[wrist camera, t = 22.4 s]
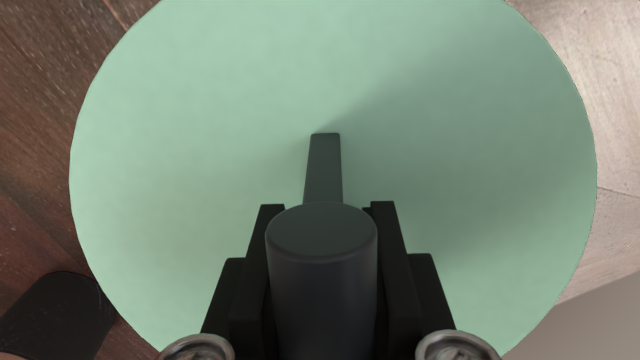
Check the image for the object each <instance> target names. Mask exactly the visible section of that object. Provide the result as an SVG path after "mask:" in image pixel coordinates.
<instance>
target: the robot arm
mask: <svg viewBox="0 0 640 360" xmlns="http://www.w3.org/2000/svg"><path fill="white" fill-rule="evenodd" d="M284 210H286V209H285V205H284V204H261V206H260V209H259V212H258V216H257V219H256V223H255V226H254V229H253V233H252V236H251V240H250V243H249V246H248V250H247V253H246V257H234V258H227V259H226V261H225V263H224V266H223V269H222V272H221V275H220V277H219V280H218V283H217V286H216V289H215V291H214V294H213V297H212V300H211V303H210V305H209V308H208V311H207V314H206V317H205V319H204V322H203V325H202V328H201V331H200V333H199V334H192V335H189V336H186V337H183V338H180V339H178V340H176V341H175V342H173V343H171V344H169V345H168V346H167V347H166V348H164V349H163V350H162V351H161V352H160V353H159V354H158V355H157V357H156V358H155V360H279V355H278V346H277V337H276V329H275V322H274V313H273V304H272V296H271V287H270V278H269V269H268V260H267V252H266V243H265V232H266V229H267V226H268V224H269V223H270V221H271V220H272V219H273V218H274V217H275V216H276V215H278V214H279V213H281V212H283V211H284ZM362 210H363V211H364V212H366V213H367V214H368V215H370V217H371V218H372V219H373V221H374V222H375V225H376V227H377V312H376V322H375V360H502V359H501V357H500V356H499V354H498V353H497V351H496V350H495V349H494V348H493V347H492V346H491V345H490V344H489V343H488V342H486V341H485V340H483V339H482V338H480V337H478V336H476V335H474V334H471V333H468V332H465V331H461V330H457V329H456V326H455V323H454V320H453V317H452V314H451V311H450V308H449V305H448V302H447V299H446V296H445V293H444V290H443V287H442V284H441V281H440V279H439V276H438V273H437V270H436V267H435V264H434V261H433V258H432V256H431V254H430V253H411V254H407V251H406V247H405V243H404V239H403V235H402V232H401V228H400V224H399V220H398V216H397V212H396V208H395V204H394V201H371V202H370V207H362Z"/></svg>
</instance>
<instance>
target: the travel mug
mask: <svg viewBox="0 0 640 360" xmlns="http://www.w3.org/2000/svg"><path fill="white" fill-rule="evenodd" d="M114 317H115V307H114V305H113V304H112V303H111V301H110V300H109V299H108V297H107V296H106V294H105V293H104V292H103V290H102V288H101V286H100V285H99V284H98V283H96V282H95V281H93V280H91V279H89V278H87V277H85V276H82V275H79V274H75V273H70V272H56V273H51V274H48V275H45V276H44V277H42V278H40V279H39V280H37V281H36V282H35V283H34V284H33V285H32V286H31V287H30V288H29V289H28V290H27V291H26V292H25V293H24V294H23V295H22V296H21V297H20V298H19V299H18V300H17V301H16V302H15V303H14V304H13V305H12V306H11V307H10V308H9V309H8V310H7V311H6V312H5V313H4V314H3V315H2V316H1V317H0V360H93V359H94V357H95V355H96V353H97V352H98V350H99V348H100V346H101V344H102V343H103V341H104V339H105V337H106V335H107V333H108V331H109V329H110V327H111V325H112V323H113V321H114Z"/></svg>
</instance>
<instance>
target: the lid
mask: <svg viewBox="0 0 640 360" xmlns="http://www.w3.org/2000/svg"><path fill="white" fill-rule="evenodd" d="M69 188H70V198H71V208H72V214H73V218H74V222H75V226H76V231H77V235H78V239H79V242H80V244H81V247H82V249H83V252H84V254H85V257H86V259H87V262H88V264H89V267H90V269H91V270H92V272H93V274H94V276H95V278H96V279H97V281H98V283H99V285H100V286H101V288H102V290H103V292H104V293H105V294H106V296H107V297H108V299H109V300H110V301H111V303H112V304H113V305H114V307H115V308H116V309H117V311H118V312H119V313H120V315H121V316H122V317H123V318H124V319H125V320H126V321H127V322H128V323H129V324H130V325H131V326H132V327H133V329H134V330H135V331H136V332H137V333H138V334H139V335H140V336H142V337H143V338H144V339H145V340H146V341H147V342H149V343H150V344H151V345H152V346H153V347H154V348H156V349H157V350H158V351H159V352H161V351H162V350H163V349H164V348H166V347H167V346H168V345H169V344H171V343H173V342H175V341H176V340H178V339H180V338H183V337H186V336H189V335H192V334H199V333H200V331H201V328H202V325H203V322H204V319H205V317H206V314H207V311H208V308H209V305H210V303H211V300H212V297H213V294H214V291H215V289H216V286H217V283H218V280H219V277H220V275H221V272H222V269H223V266H224V263H225V261H226V259H227V258H234V257H246V253H247V250H248V246H249V243H250V240H251V236H252V233H253V229H254V226H255V223H256V219H257V216H258V212H259V209H260V206H261V204H284V205H285V209H286V210H284V211H283V212H281V213H279V214H278V215H276V216H275V217H274V218H273V219H272V220H271V221H270V223H269V224H268V226H267V229H266V232H265V243H266V252H267V260H268V269H269V278H270V287H271V296H272V304H273V313H274V322H275V329H276V337H277V346H278V355H279V360H375V322H376V312H377V227H376V225H375V222H374V221H373V219H372V218H371V217H370V215H368V214H367V213H366V212H364V211H363V210H362V207H370V202H371V201H394V204H395V208H396V212H397V216H398V220H399V224H400V228H401V232H402V235H403V239H404V243H405V247H406V251H407V254H411V253H430V254H431V256H432V258H433V261H434V264H435V267H436V270H437V273H438V276H439V279H440V281H441V284H442V287H443V290H444V293H445V296H446V299H447V302H448V305H449V308H450V311H451V314H452V317H453V320H454V323H455V326H456V329H457V330H461V331H465V332H468V333H471V334H474V335H476V336H478V337H480V338H482V339H483V340H485V341H486V342H488V343H489V344H490V345H491V346H492V347H493V348H494V349H495V350H496V351H497V353H498V354H499V356H500V357H501V356H502V355H504V354H505V353H506V352H508V351H509V350H511V349H512V348H513V347H515V346H516V345H517V344H518V343H519V342H520V341H521V340H522V339H523V338H524V337H525V336H526V335H527V334H529V333H530V332H531V331H532V330H533V329H534V328H535V327H536V326H537V325H538V324H539V322H540V321H541V320H542V319H543V318H544V317H545V315H546V314H547V313H548V312H549V311H550V310H551V308H552V307H553V306H554V305H555V303H556V302H557V300H558V299H559V297H560V296H561V294H562V293H563V291H564V289H565V288H566V286H567V285H568V283H569V282H570V280H571V278H572V276H573V274H574V272H575V270H576V268H577V266H578V263H579V261H580V259H581V257H582V255H583V252H584V249H585V246H586V243H587V240H588V237H589V234H590V231H591V227H592V222H593V216H594V210H595V204H596V198H597V161H596V154H595V146H594V139H593V133H592V129H591V126H590V123H589V120H588V116H587V113H586V110H585V107H584V103H583V100H582V98H581V96H580V94H579V92H578V90H577V88H576V86H575V84H574V82H573V80H572V78H571V76H570V74H569V72H568V70H567V68H566V67H565V65H564V64H563V62H562V61H561V60H560V58H559V57H558V56H557V54H556V53H555V51H554V50H553V49H552V47H551V46H550V45H549V43H548V42H547V40H546V39H545V38H544V37H543V36H542V35H541V34H540V33H539V32H538V31H537V30H536V29H535V28H534V27H533V26H532V25H531V24H530V23H529V22H528V21H527V20H526V19H525V18H524V17H523V16H522V15H521V14H520V13H519V12H518V11H517V10H516V9H515V8H513V7H512V6H511V5H509V4H508V3H506V2H505V1H504V0H161V1H159V2H158V3H157V4H156V5H155V6H154V7H153V8H152V9H151V10H149V11H148V12H147V13H146V14H145V15H144V16H143V17H142V18H140V19H139V20H138V21H137V22H136V23H135V24H134V25H133V26H131V27H130V29H129V30H128V31H127V32H126V34H125V35H124V36H123V37H122V38H121V40H120V41H119V42H118V43H117V45H116V46H115V47H114V48H113V49H112V51H111V52H110V53H109V54H108V56H107V57H106V59H105V61H104V62H103V64H102V66H101V68H100V69H99V71H98V73H97V74H96V76H95V78H94V80H93V81H92V83H91V85H90V87H89V89H88V92H87V94H86V97H85V100H84V102H83V105H82V107H81V110H80V113H79V115H78V118H77V123H76V127H75V132H74V137H73V141H72V146H71V153H70V171H69Z"/></svg>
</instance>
